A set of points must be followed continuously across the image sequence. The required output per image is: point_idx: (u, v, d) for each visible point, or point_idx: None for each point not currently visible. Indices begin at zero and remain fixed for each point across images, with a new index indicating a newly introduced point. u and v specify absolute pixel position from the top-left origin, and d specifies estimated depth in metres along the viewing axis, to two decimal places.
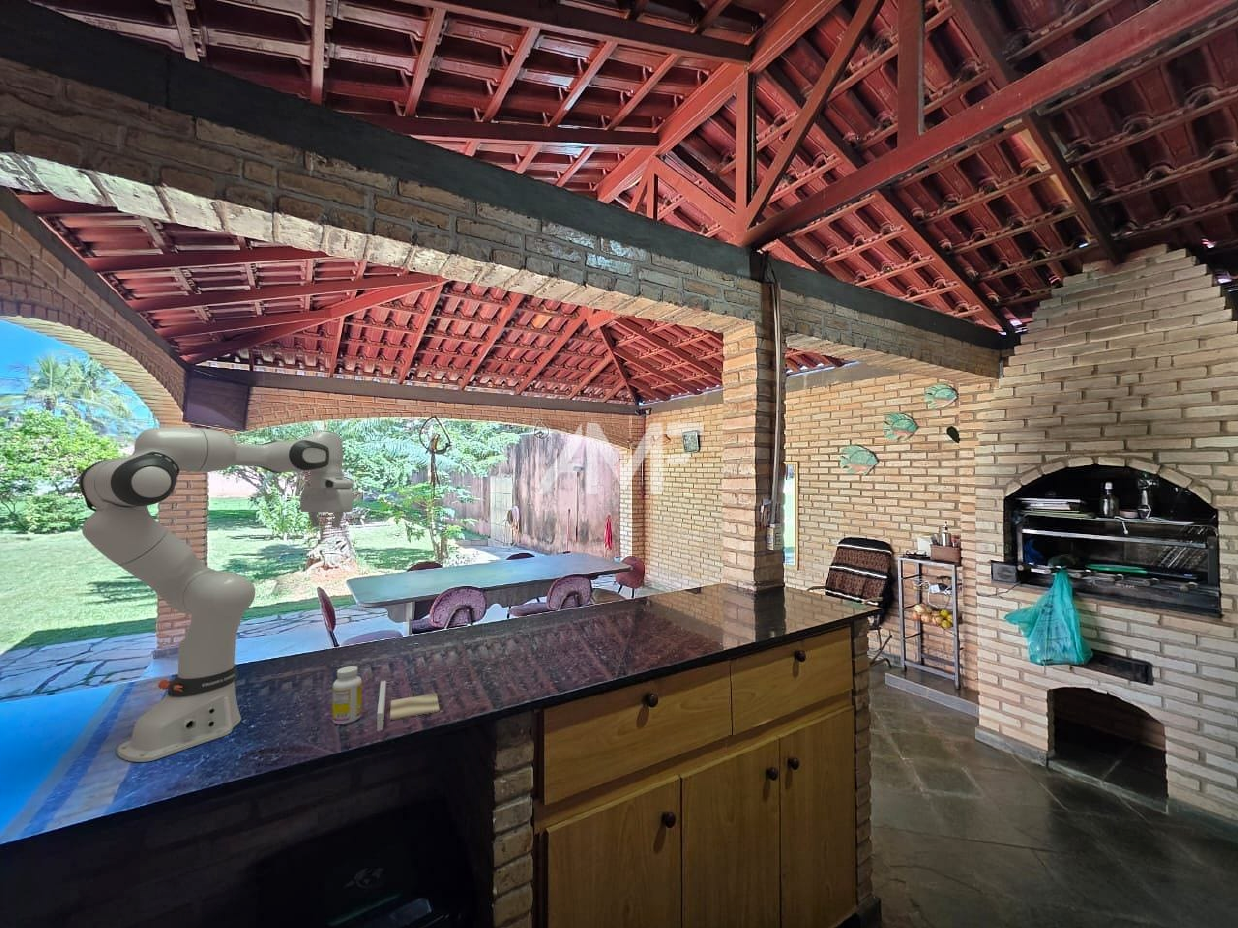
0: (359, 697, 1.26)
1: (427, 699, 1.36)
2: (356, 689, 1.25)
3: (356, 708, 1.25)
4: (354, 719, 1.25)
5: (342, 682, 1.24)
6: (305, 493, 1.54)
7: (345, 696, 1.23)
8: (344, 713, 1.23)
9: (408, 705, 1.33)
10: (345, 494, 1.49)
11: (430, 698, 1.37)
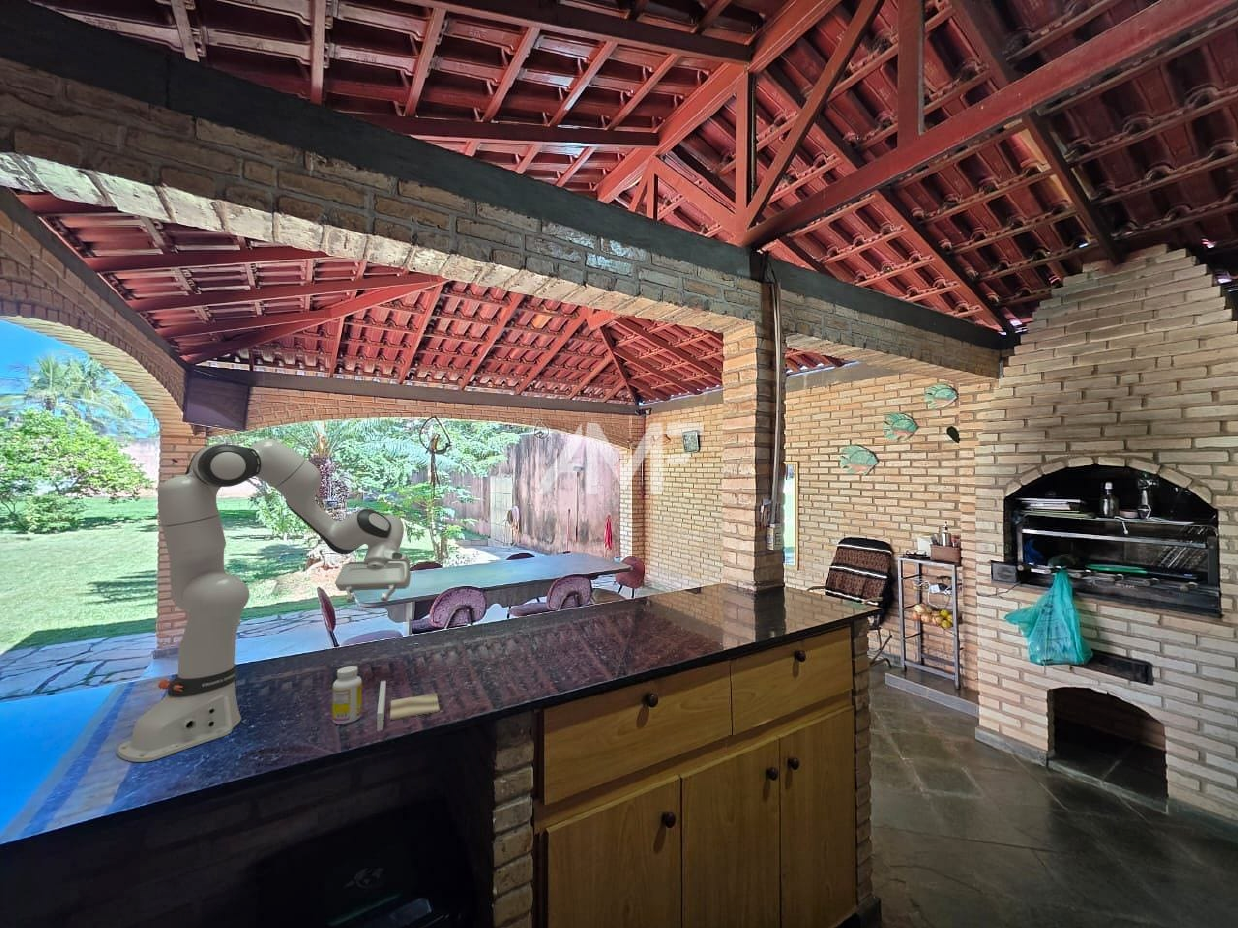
0: (359, 697, 1.26)
1: (427, 699, 1.36)
2: (356, 689, 1.25)
3: (356, 708, 1.25)
4: (354, 719, 1.25)
5: (342, 682, 1.24)
6: (350, 567, 1.45)
7: (345, 696, 1.23)
8: (344, 713, 1.23)
9: (408, 705, 1.33)
10: (409, 569, 1.48)
11: (430, 698, 1.37)
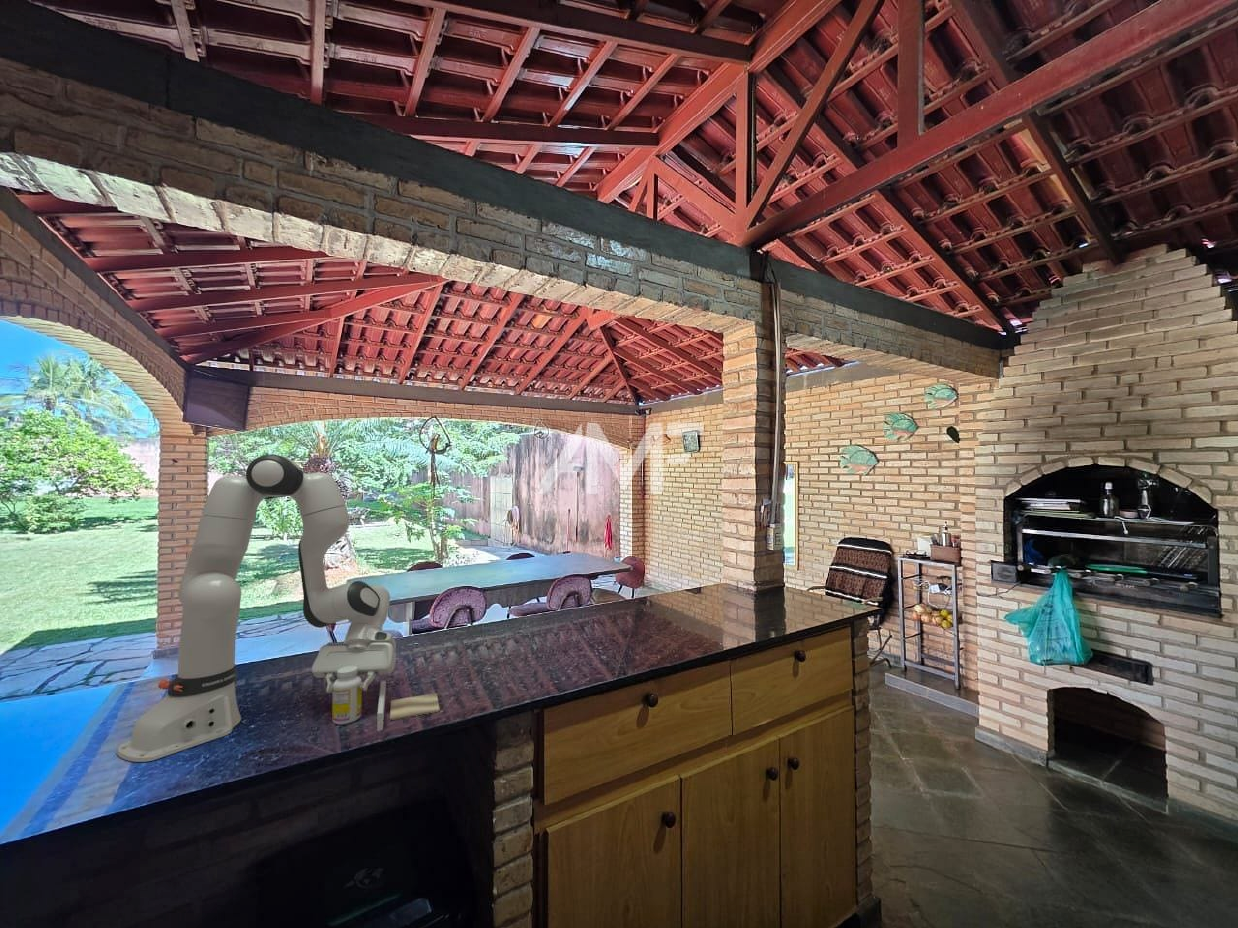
0: (359, 697, 1.26)
1: (427, 699, 1.36)
2: (356, 689, 1.25)
3: (356, 708, 1.25)
4: (354, 719, 1.25)
5: (342, 682, 1.24)
6: (329, 650, 1.32)
7: (345, 696, 1.23)
8: (344, 713, 1.23)
9: (408, 705, 1.33)
10: (394, 650, 1.34)
11: (430, 698, 1.37)
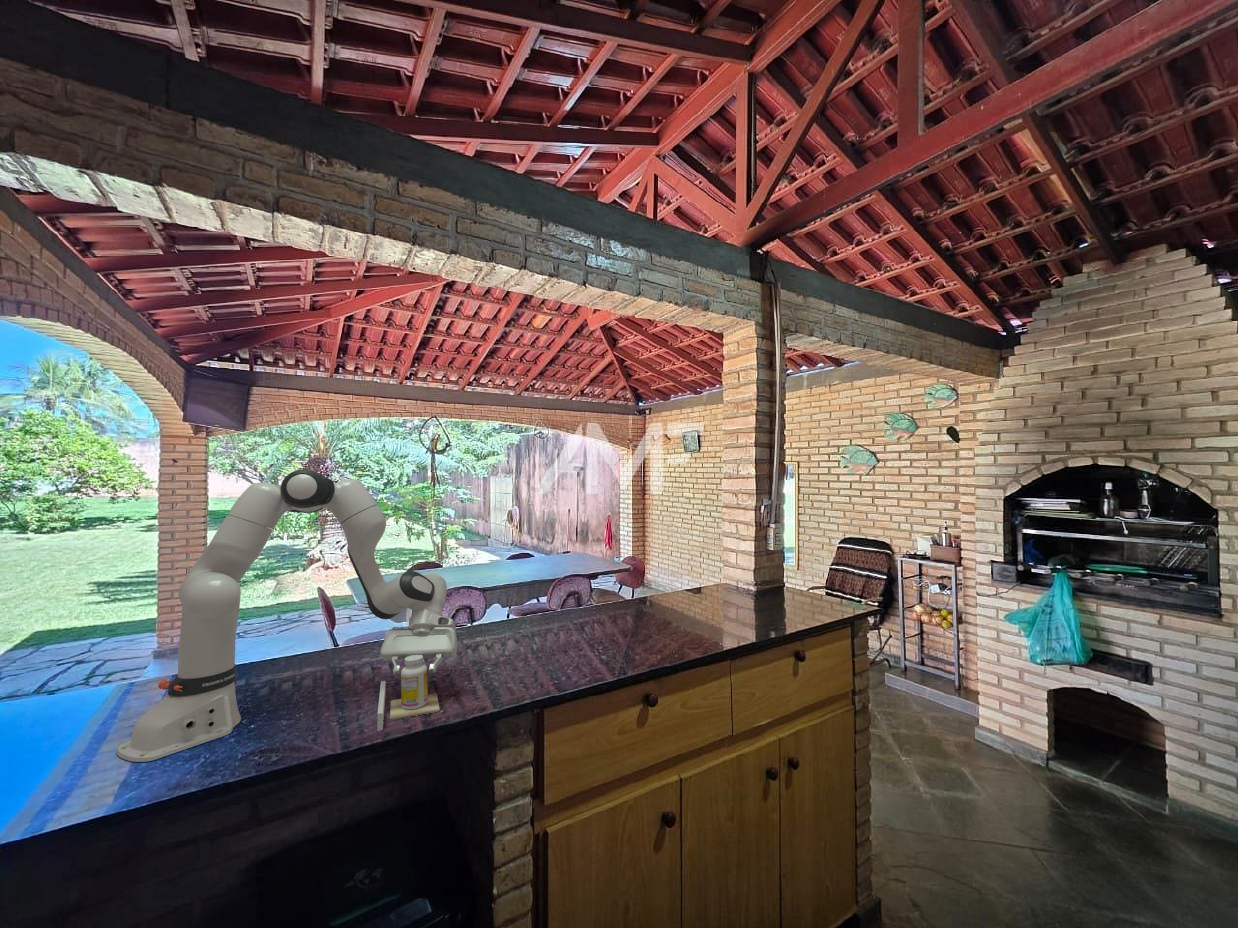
0: (426, 683, 1.33)
1: None
2: (423, 676, 1.32)
3: (423, 694, 1.32)
4: (422, 704, 1.31)
5: (410, 669, 1.31)
6: (395, 634, 1.38)
7: (414, 683, 1.30)
8: (414, 698, 1.30)
9: None
10: (455, 635, 1.41)
11: (430, 698, 1.37)
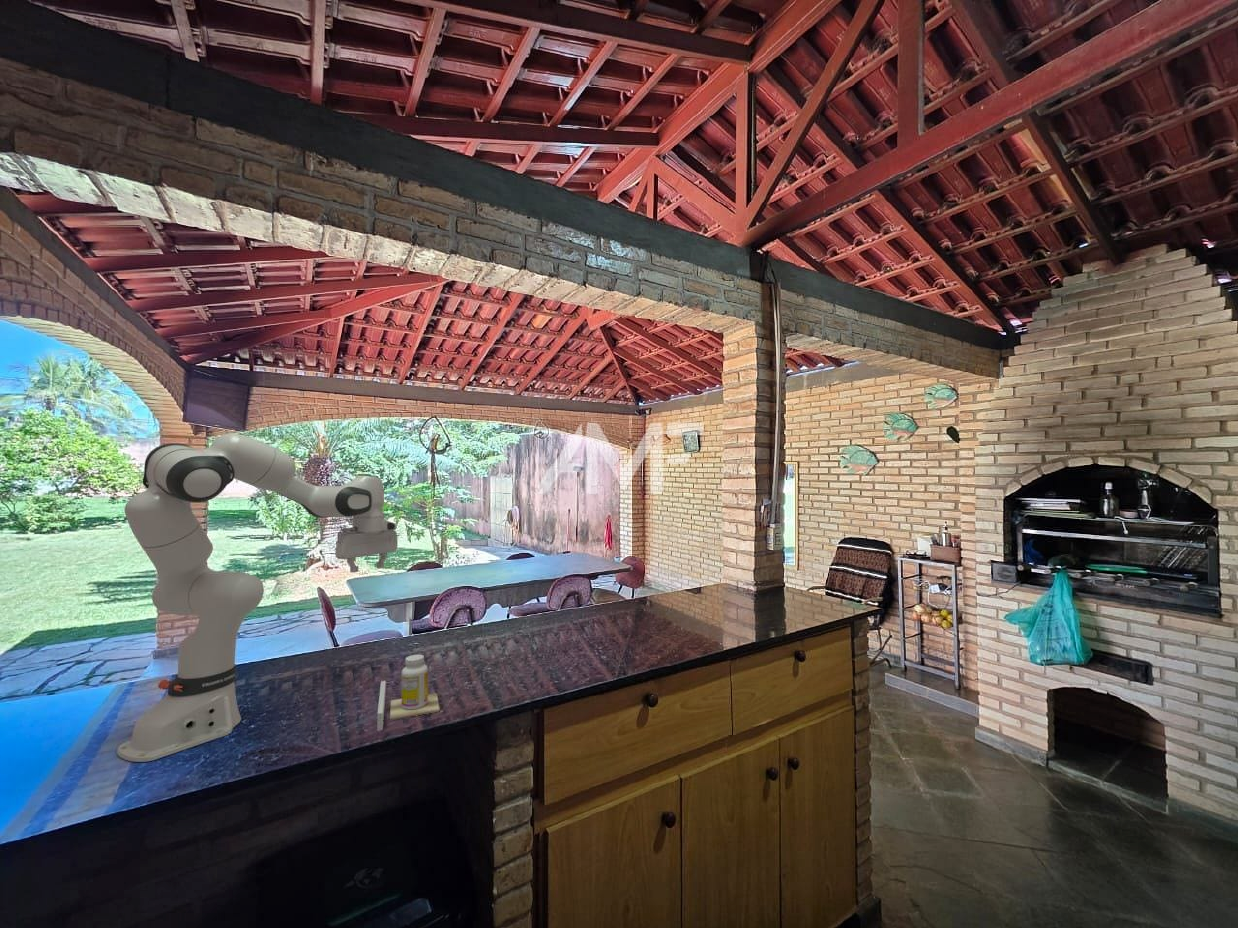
0: (426, 684, 1.33)
1: None
2: (424, 676, 1.32)
3: (424, 694, 1.32)
4: (422, 705, 1.31)
5: (411, 669, 1.31)
6: (352, 538, 1.48)
7: (414, 683, 1.30)
8: (414, 698, 1.30)
9: None
10: None
11: (430, 698, 1.37)
